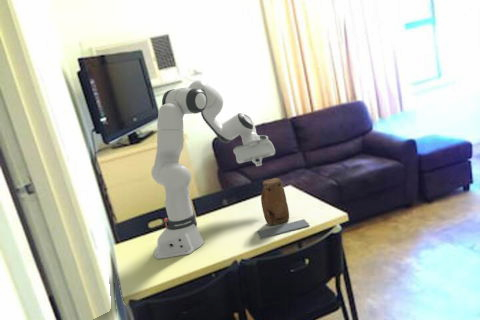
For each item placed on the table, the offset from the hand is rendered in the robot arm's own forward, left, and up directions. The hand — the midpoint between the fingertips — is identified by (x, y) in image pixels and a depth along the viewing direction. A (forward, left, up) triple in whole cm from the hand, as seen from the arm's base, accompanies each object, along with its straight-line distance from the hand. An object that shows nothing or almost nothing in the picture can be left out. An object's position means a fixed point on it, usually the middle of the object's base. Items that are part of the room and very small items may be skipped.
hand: (259, 165), depth 209 cm
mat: (0, -32, -23) cm, 39 cm away
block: (0, -22, -23) cm, 32 cm away
